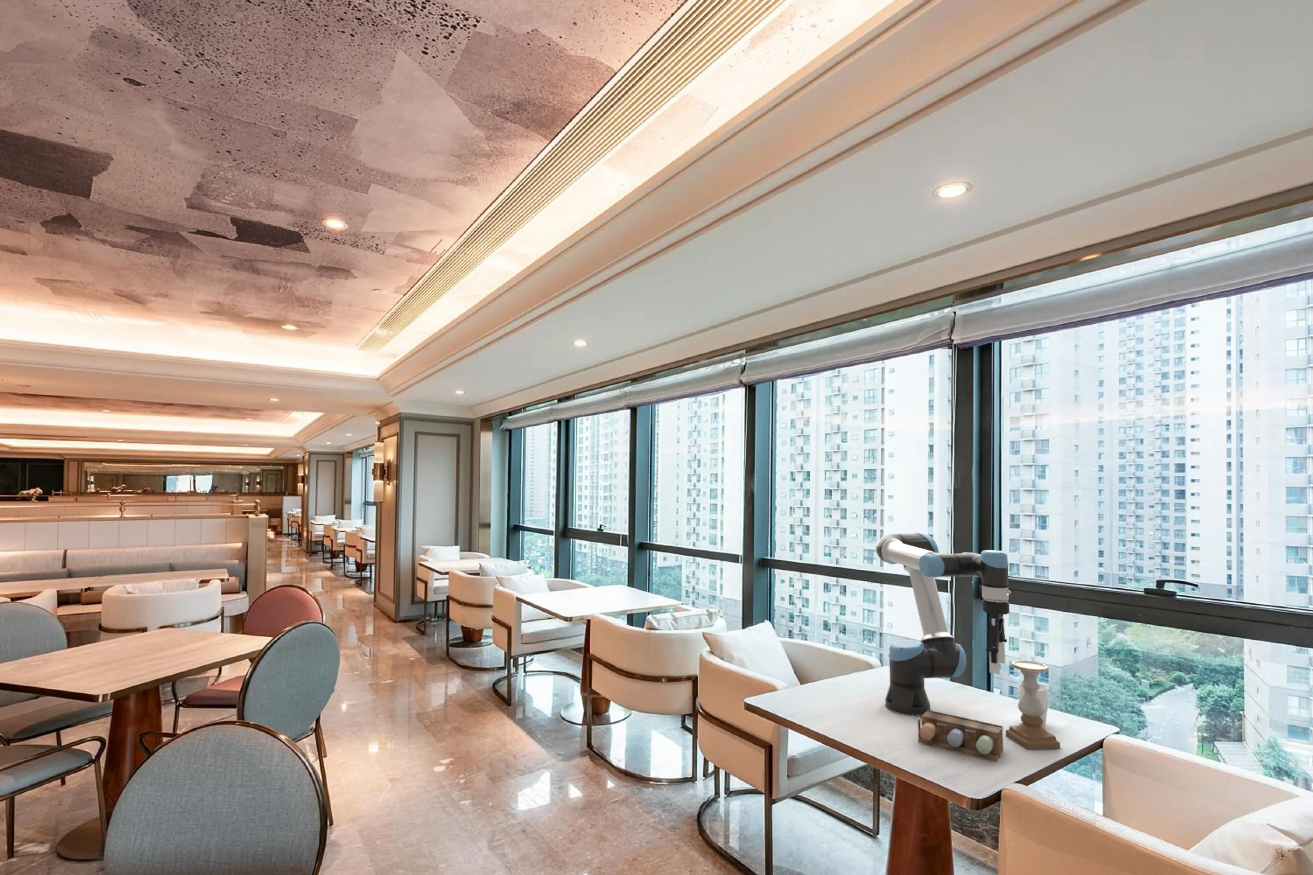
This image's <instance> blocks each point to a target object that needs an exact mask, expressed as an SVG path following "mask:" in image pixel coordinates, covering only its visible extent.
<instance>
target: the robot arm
mask: <svg viewBox="0 0 1313 875" xmlns="http://www.w3.org/2000/svg"><path fill="white" fill-rule="evenodd" d="M875 552H876V554H877V556H878V557H879V559H881V561H882V562H885V563H887V564H891V565H896V564H899V565H902V566H903V570H904V571H906V572H907V573H908V574H909V578H910V582H911V586H912V590H913V596H914V599H915V604H916V607H917V613H918V616H919V622H920V625H921V626H920V627H921V632H922V634H923V636H922V637H921V639H920V640H917V639H900V640H899V639H898V640H896V641H894V642H892V643H891V644H890V645H889V653H888V658H889V659H888V660H889V687H888V690H887V693H886V696H885V698H884V699H885V700H884V701H885V702H884V703H885V704H884V705H885V707H886V708H887V709H888V710H890V711H892V712H894V713H898V714H901V715H907V716H922V715H923V714H924V713H925V712H926V710H931V703H930V700H929V697H928V695H927V692H926V689H925V679H943V678H946V679H950V678H957V677H960V676H962V674H964V672H965V668H966V665H967V657H966V653H965V649H964V648H963V646H962V645H961V644H958V643H957V642H955V641H956V640H955V637H954V636H953V635H951V634H950V633H949V631H948V627H947V623H946V619H945V615H944V612H943V607H942V602H941V599H940V595H939V591H938V587H937V582H936V580H935V579H936V578H941V577H943V578H946V577H950V578H951V577H952V578H953V577H954V578H955V577H975V578H980V579H981V597H982V611H983V612H984V613H988V614H990V616H989V618H988V619H987V620H988V645H987V648H986V649H985V650H986V652H988V658H989V660H988V662H989V664H988V665H989V673H990V674H995V675H1000V674H1001V670H1000V668H1001V666H1000V664H1003V665H1005V664H1006V648H1005V643H1008V639H1007V638H1006V635H1005V619H1004V615H1008V614H1010V602H1009V601H1008V600H1009V599H1010V598H1009V595H1010V594H1011V593H1012V591H1011V590H1009V562H1008V555H1007V553H1006V552H1005V551H1003V550H993V549H992V550H991V549H985V550H982V551H981V552H980V554H979V553H976V552H971V551H969V552H967V551H965V552H961V553H940V551H939V547H938V544H937V542H936V540H935V538H933V536H931V535H929V534H928V533H927V534H926V533H920V532H915V533H888V534H885V535H883V536H882V537H881V538H880V539H879V540H878V541H877V543H876V546H875Z"/></svg>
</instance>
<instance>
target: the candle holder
mask: <svg viewBox="0 0 1313 875" xmlns="http://www.w3.org/2000/svg"><path fill="white" fill-rule="evenodd" d="M1011 666H1012V667H1013V668H1014V669H1016V670H1019V672H1020V673H1021V674H1022V675H1023V680H1022V681H1021V682H1020V683H1021V685H1022V686H1023V688H1024V691H1025V693H1024V695H1023V697H1022V698H1021V699H1020V701H1018V703H1017V708H1018V710H1019V711H1020V712H1021V716H1020V721H1021V722H1022V723H1019V724H1018V725H1010V726H1009V728H1008V729H1006V730H1005V736H1006V737H1007V738H1008V739H1010V740H1012V741H1013V742H1014V743H1016V744H1018V745H1019V746H1021V747H1022V748H1024V749H1025V750H1028V751H1029V750H1030V751H1031V750H1032V751H1034V750H1035V751H1037V750H1041V751H1042V750H1060V749H1061V742H1060V741H1058V740H1057V737H1056V735H1054V734H1053V733H1051V732H1049V731H1048V730H1046V729H1045V728H1044V727H1043V726H1041V725H1042V724H1043V720H1042V718H1041V717H1040V716H1041V715H1043V714H1044V712H1045V709H1044V706H1043V704H1042V702H1041V701H1040V699H1039V698H1038V696H1037V691H1038V689H1039V688H1040V686H1039V683H1038V679H1037V678H1038V676H1039V675H1040V673H1046V672H1048V671H1049V666H1048V665H1046V664H1045V663H1042V662H1037V661H1031V660H1023V659H1022V660H1014V661H1011ZM1022 713H1023V714H1022Z"/></svg>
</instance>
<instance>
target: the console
mask: <svg viewBox="0 0 1313 875" xmlns="http://www.w3.org/2000/svg"><path fill="white" fill-rule="evenodd" d="M925 723H932V724H933V725H934V726H935V727H936V730H937V732H936V734H935V735H934V737H933V738H932V739H931V740H925V739H923V738H922V737H921V735H920V732H919V731H920V728H921V727H922V726H923V725H924V724H925ZM917 729H918V730H917V731H918V732H917V733H918V734H917V735H918V736H917V738H918V743H919V744H924V745H927V746H932V747H934V748H935V747H936V748H940V749H943V750H947V751H952V752H956V753H960V754H963V755H967V756H971V757H976V758H980V759H982V760H988V761H992V762H996V763H997V762H998V758H1000V757H1001V756H1002V754H1003V752H1004V730H1003V725H999V724H994V723H991V722H986V721H982V720H975V719H972V718H967V717H962V716H958V715H952V714H948V713H945V712H939V711H935V710H931V709H930V710H926V712H925V713H924V714H923V715H921V718H918V719H917ZM953 729H959V730H960V731H962V733H963V734H964V741H963V742H962V743H961V745H960V746H958V747H953V746H951V745H950V744H949V743H948V741H947V736H948V734H949V733H950V732H951V731H952V730H953ZM983 735H985V736H988V737H990V738H991V739H992V740H993V743H994V746H993V748H992V750H991V751H990V753H988V754H982V753H980V752H979V751H978V750H977V748H976V742H977V741H978V739H979V738H980V737H981V736H983Z"/></svg>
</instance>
